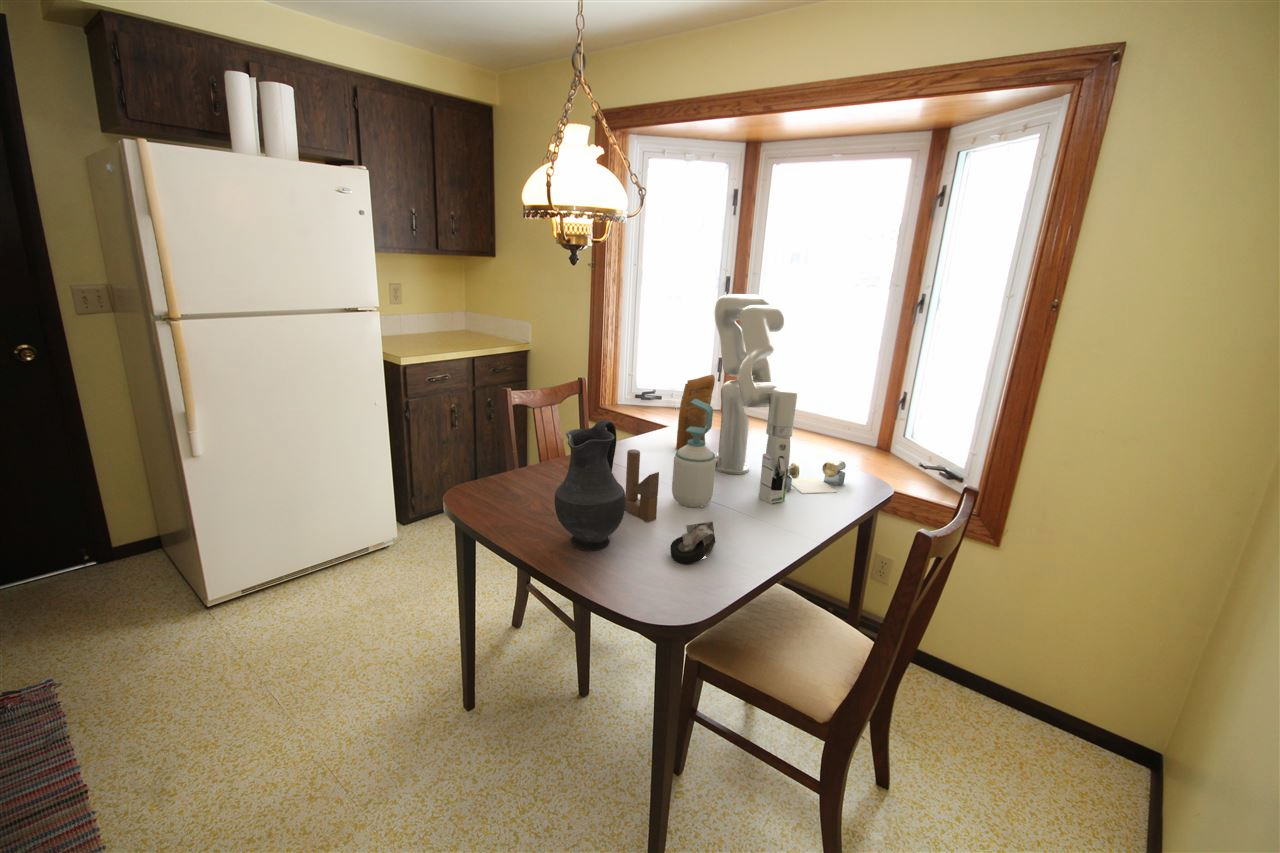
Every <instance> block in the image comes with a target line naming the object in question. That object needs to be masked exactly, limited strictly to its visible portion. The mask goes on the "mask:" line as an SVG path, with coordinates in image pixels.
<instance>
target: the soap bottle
mask: <svg viewBox="0 0 1280 853" xmlns="http://www.w3.org/2000/svg"><path fill="white" fill-rule="evenodd" d="M691 404H692V405H694V406H696V407H698V408H701V409H703V410H704V411H706V414H707V421H706V428H700V427H693V426H691V427H689V428H688V429H686V432H688V433H691V435H692V436H693V439H690V440H688V442H687V445H686V446H684V447H682V448H680V449H679V450H678V449H676V452H675V455H674V458H673V468H672V469H673V470H672V483H671V486H672V487H671V494H672V496H673V500H675V502H676V503H678V505H680V504H681V505H680V506H682V507H685V506H686V507H685V508H690V507H691V508H692V509H697V508H698V507H699V508H702V506H703V507H705V506H706V505H708V504H709V503H710V502H711V500H712V498H713V496H714V489H715V488H714V487H715V486H714V485H715V477H716V476H715V474H716V470H715V466H716V458H715V455H716V453H714V452H713V451H712V450H711V449H710V448H708V447H707V446H706V440H705V441H703V440H700V437H701V436H703V435H704V434H705V435H706V434H707V433H708V432H709V431H710V430H711V429H712V427H713V426H712V424H713V415H714V408H713V406H711V404H710V405H709V404H707V403H705V402H702V401H700V400H698V399H694V400H692V401H691ZM691 508H690V509H691ZM699 508H698V509H699Z"/></svg>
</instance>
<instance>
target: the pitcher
mask: <svg viewBox="0 0 1280 853" xmlns="http://www.w3.org/2000/svg"><path fill="white" fill-rule="evenodd" d="M565 435H566V437H567V445H568V447H569V448H570V456H569V457H570V459H569V463H568V464H569V465H568V470H567V472H566V473H567V474H566V476H565V477H564V480H563V481H562V483H561V484H560V485H559V486H558V487H557V488H556V489H555V491H554V492H555V493H554V509H555V510H554V511H555V514H556V516H557V520H558V521H559V523H560V524H561V526H562V527H563V528H564V529H565V530H566V531H567V532H568V533H570V534H571V535H572V537H571V539H570V545H571V546H572V547H573V548H575V549H577V550H579V551H580V550H581V551H584V552H585V551H587V552H588V551H589V552H591V551H598V550H602V549H604V548H606V547H608V546H609V545H610V542H611V541H610V540H611V539H610V538H609V537H610V536H611V535H612V534H613V533H614V532H615V531H616V530H617V529H618V528H619V526H620V525H621V523H622V521H623V518H624V515H625V513H626V511H625V504H626V498H625V496H626V490H625V489H624V487H623V485H621V483H619V482H618V480H617V478H616V477H615V475H614V473H613V465H614V459H615V455H616V447H617V429H616V426H615V424H614V422H613V421H611V420H609V419H608V420H607V419H600V420H598V421H597V422H596V423H595V424H594V425H593V426H592V427H590V428H589V427H588V428H576V429H571V430H568V431H567V432H565Z"/></svg>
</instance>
